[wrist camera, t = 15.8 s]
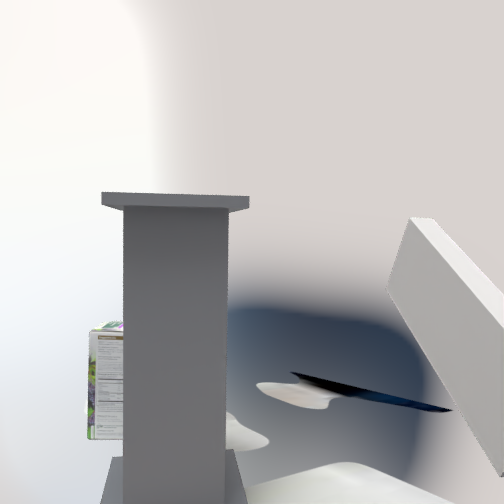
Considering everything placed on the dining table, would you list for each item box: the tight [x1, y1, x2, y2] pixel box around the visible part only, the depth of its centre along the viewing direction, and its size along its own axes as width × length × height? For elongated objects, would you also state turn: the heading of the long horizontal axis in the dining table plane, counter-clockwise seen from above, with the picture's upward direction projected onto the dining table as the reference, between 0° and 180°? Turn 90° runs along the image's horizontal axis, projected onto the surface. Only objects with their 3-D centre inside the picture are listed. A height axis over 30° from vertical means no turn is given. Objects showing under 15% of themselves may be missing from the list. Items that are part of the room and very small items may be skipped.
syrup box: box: [87, 321, 123, 440], centre depth 62 cm, size 6×6×14 cm
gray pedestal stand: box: [100, 192, 249, 504], centre depth 46 cm, size 16×14×30 cm
